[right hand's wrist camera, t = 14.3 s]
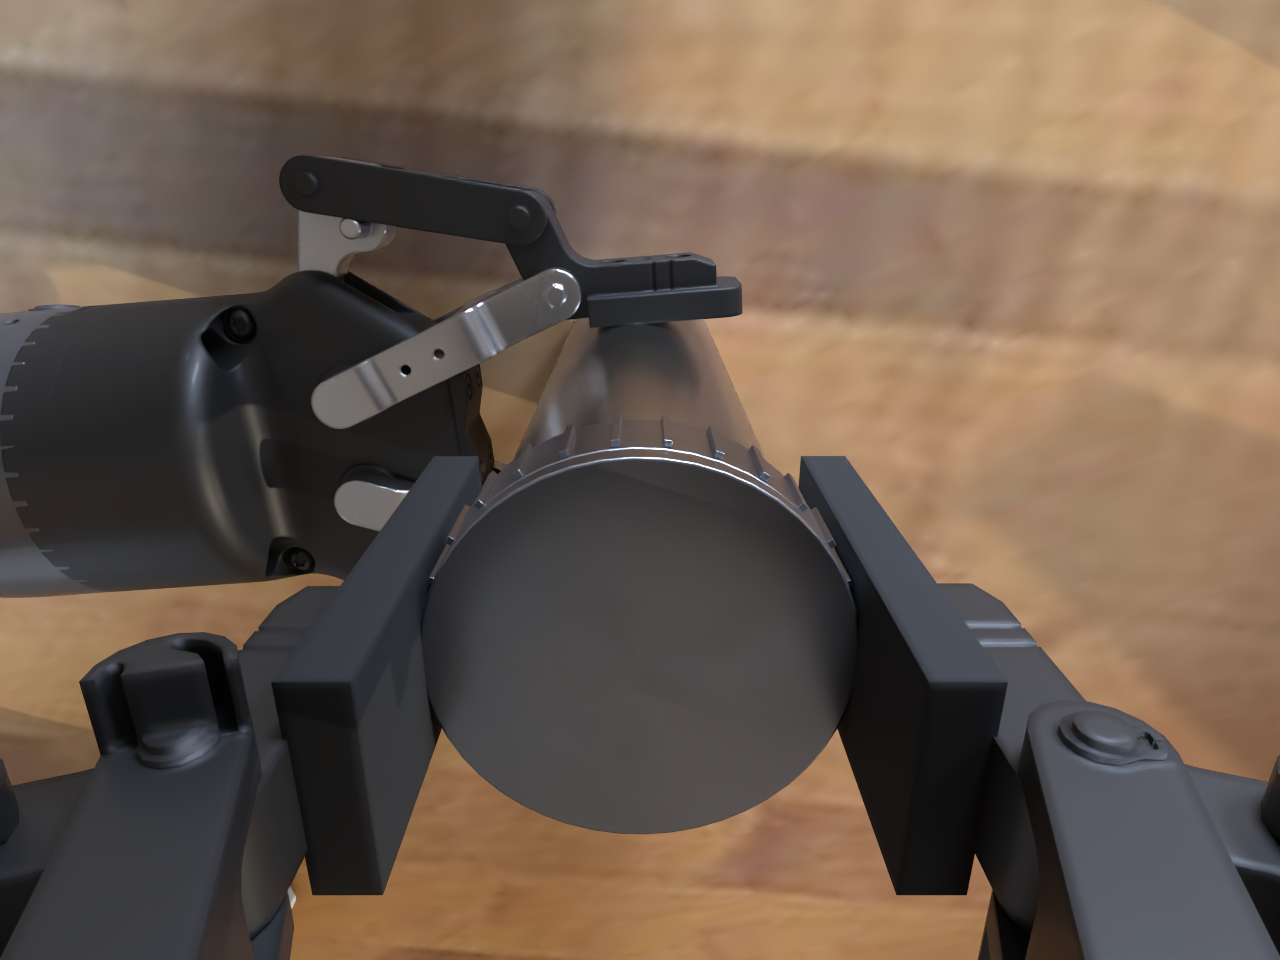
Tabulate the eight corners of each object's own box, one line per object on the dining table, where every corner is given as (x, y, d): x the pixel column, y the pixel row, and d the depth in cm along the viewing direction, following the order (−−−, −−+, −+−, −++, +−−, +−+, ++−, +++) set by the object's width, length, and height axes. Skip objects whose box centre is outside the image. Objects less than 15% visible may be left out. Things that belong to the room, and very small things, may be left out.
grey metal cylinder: (717, 284, 26) (841, 463, 10) (712, 433, 28) (811, 786, 12) (561, 284, 26) (437, 464, 10) (567, 433, 28) (468, 786, 12)
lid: (476, 369, 10) (449, 402, 9) (893, 465, 11) (933, 511, 9) (417, 723, 12) (387, 797, 11) (771, 791, 13) (788, 871, 11)
